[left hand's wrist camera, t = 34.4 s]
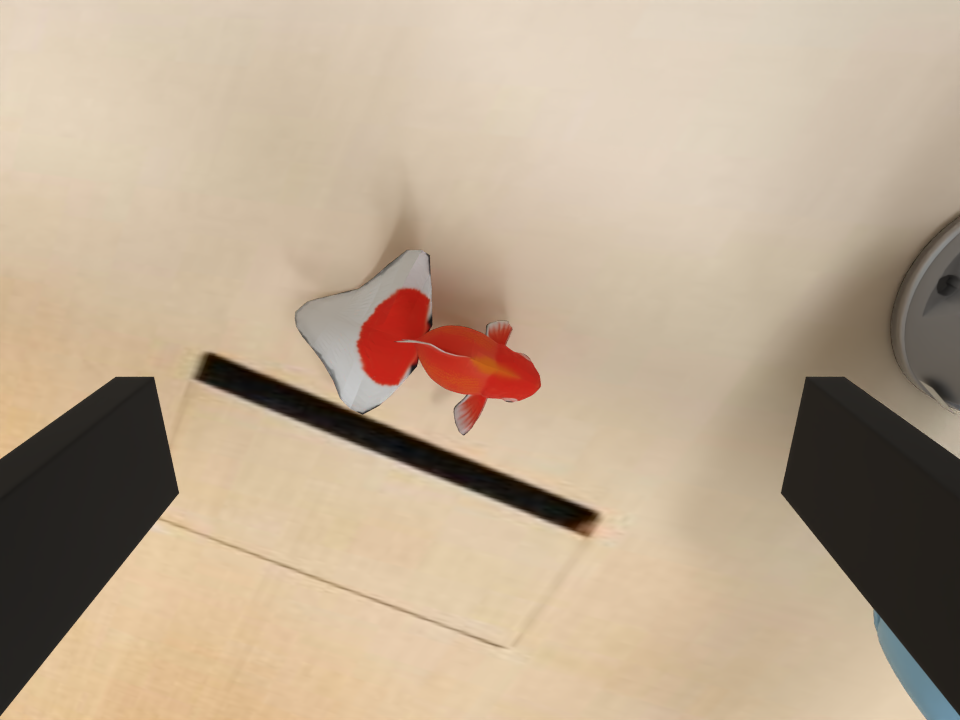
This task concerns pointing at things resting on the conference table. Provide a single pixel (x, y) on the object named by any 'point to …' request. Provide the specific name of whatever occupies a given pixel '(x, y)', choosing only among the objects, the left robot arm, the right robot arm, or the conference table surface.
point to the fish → (410, 344)
